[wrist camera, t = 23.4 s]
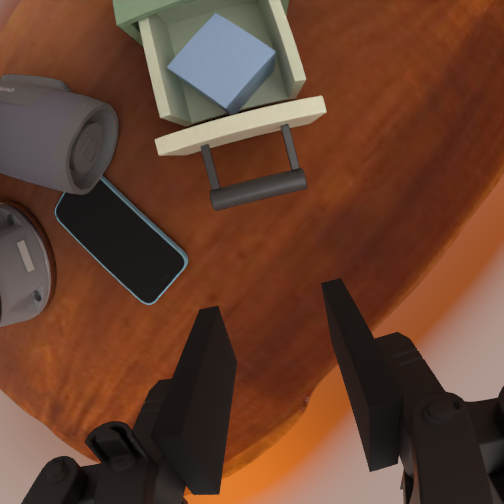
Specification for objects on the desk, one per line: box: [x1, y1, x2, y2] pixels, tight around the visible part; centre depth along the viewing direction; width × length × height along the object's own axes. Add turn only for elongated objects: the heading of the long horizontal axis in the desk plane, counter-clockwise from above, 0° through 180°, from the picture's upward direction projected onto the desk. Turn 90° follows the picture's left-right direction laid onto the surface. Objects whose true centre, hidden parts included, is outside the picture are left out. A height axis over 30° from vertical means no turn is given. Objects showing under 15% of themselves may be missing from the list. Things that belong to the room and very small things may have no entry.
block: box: [167, 13, 276, 116], centre depth 22 cm, size 6×6×6 cm
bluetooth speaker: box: [0, 74, 119, 195], centre depth 23 cm, size 23×9×10 cm
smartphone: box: [55, 175, 188, 305], centre depth 30 cm, size 7×1×15 cm
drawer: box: [138, 0, 327, 211], centre depth 22 cm, size 18×11×8 cm, turn 14°
